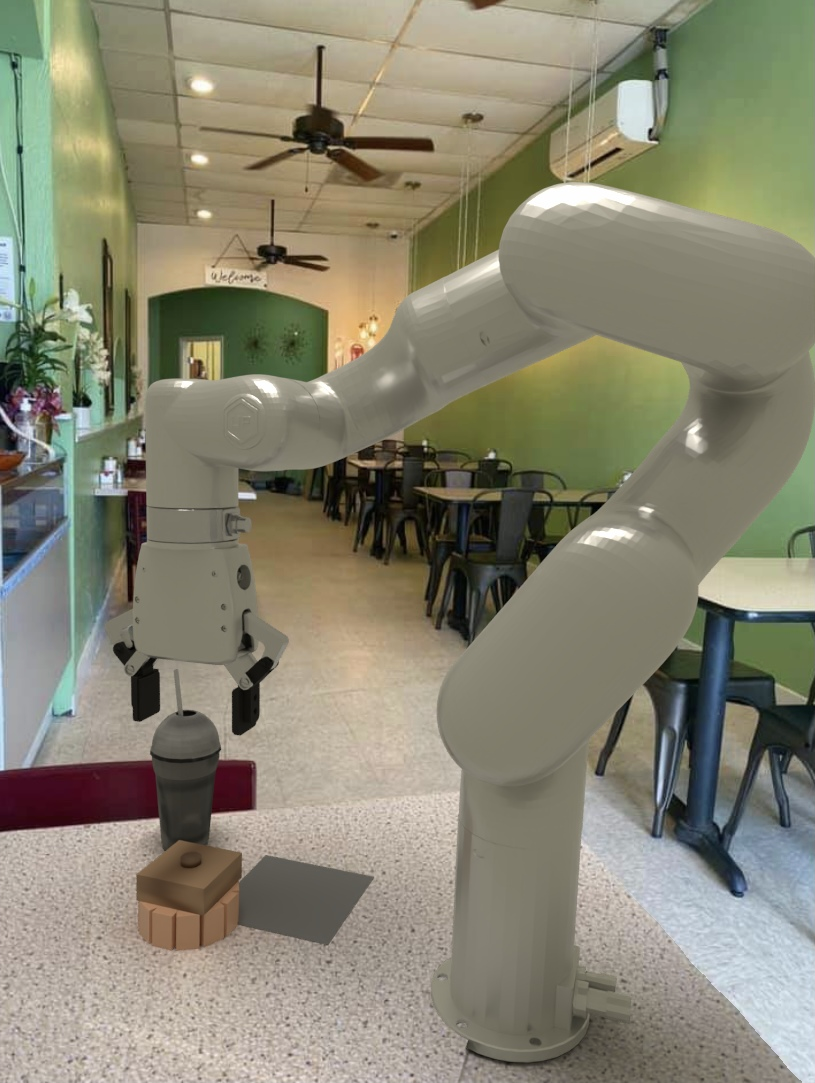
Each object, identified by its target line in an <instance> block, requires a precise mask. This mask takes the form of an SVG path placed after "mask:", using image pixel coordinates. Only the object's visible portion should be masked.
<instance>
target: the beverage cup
mask: <svg viewBox="0 0 815 1083" xmlns="http://www.w3.org/2000/svg"><path fill="white" fill-rule="evenodd" d="M179 671H180V670H179V669H178V668H177V669H173V679H174V688H175V698H176V708H177V711H175V712H172V713H171V714H169V715H168V716H166V717H165V718H164V719H163V720H162V721H161V722H160V724H158V726H157V727H156V729H155V732H154V734H153V735H152V743H151V746H150V750H149V755H150V756H151V763H152V768H153V772H154V773H155V783H156V795H157V796H156V797H157V806H158V820H159V828H160V829H159V830H160V831H159V832H160V839H161V840H160V842H161V846H162V849H163V852H165V851H166V850H167V849H169V848H170V847H171V846H172V845H174V844H175V843H176V842H177V841H179V840H181V841H186V842H191V843H196V844H201V845H206V846H208V844H209V840H210V834H211V833H210V832H211V822H212V820H211V819H212V811H213V801H214V790H215V781H216V773H217V772H216V771H217V769H218V765H219V760H220V752H221V750H222V746H221V741H220V735H219V732H218V729H217V726H216V725H215V724H214V722H213V720H212V719H210V718H209V717H208V716H207V715H205V714H204V713H203V712H201V711H198V710H194V709H183V700H182V691H181V690H182V689H181V684H180V683H181V682H180V673H179Z"/></svg>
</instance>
